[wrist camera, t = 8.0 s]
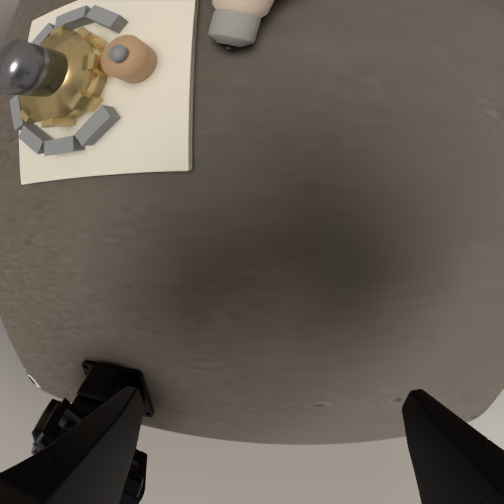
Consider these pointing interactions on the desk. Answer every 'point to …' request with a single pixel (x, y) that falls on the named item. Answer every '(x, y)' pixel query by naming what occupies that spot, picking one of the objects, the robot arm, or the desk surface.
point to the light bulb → (237, 21)
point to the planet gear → (55, 76)
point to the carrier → (121, 93)
